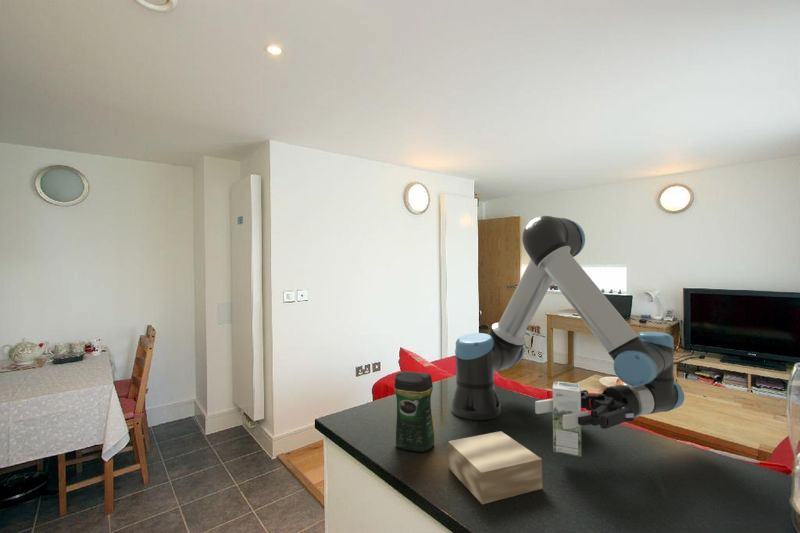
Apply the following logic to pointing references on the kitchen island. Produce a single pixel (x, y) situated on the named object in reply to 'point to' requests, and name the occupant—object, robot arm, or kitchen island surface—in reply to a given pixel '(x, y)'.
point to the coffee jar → (414, 411)
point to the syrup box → (563, 403)
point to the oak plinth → (494, 466)
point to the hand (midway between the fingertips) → (549, 414)
